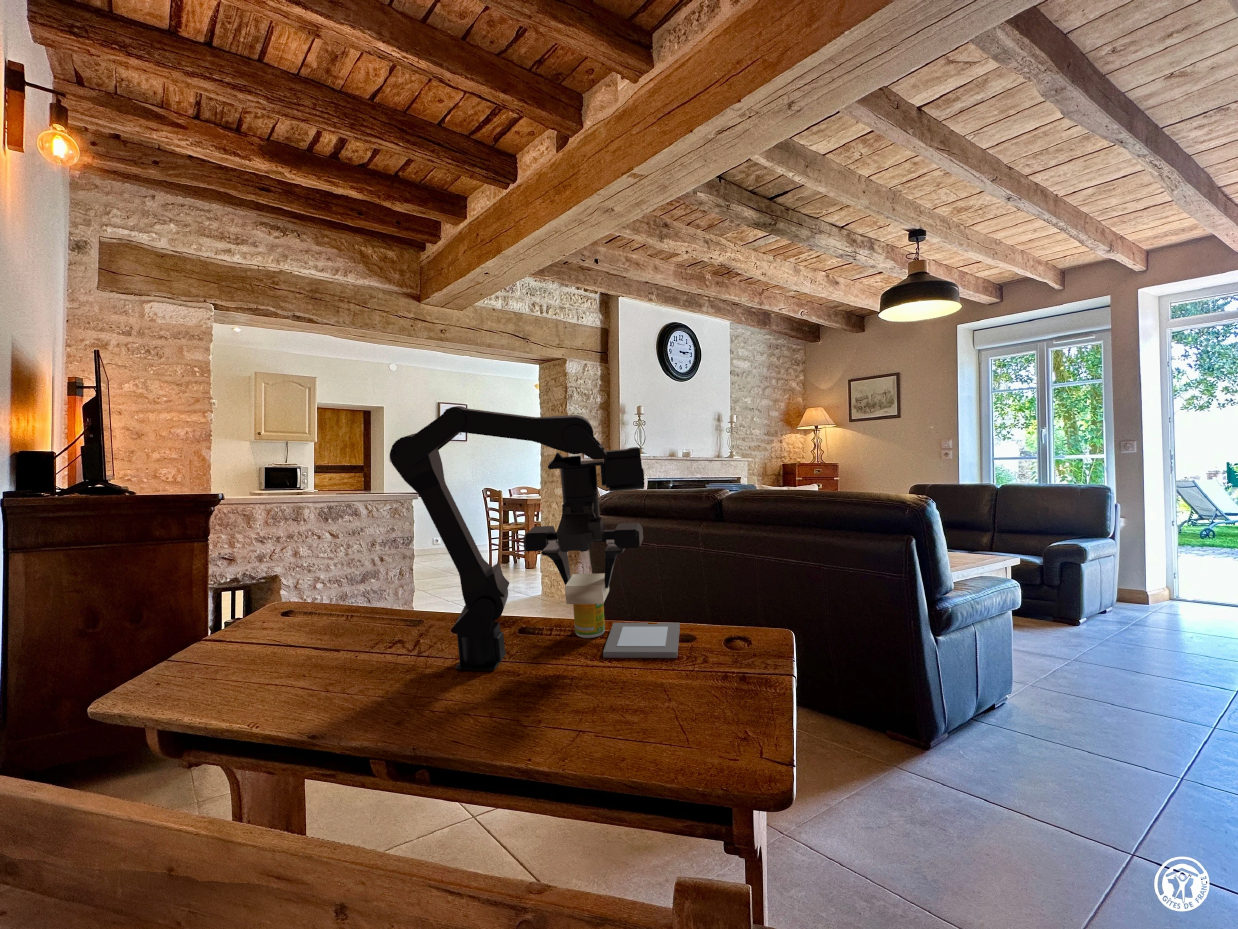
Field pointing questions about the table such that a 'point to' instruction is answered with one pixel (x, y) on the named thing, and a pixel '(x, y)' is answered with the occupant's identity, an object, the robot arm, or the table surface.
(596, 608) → the supplement bottle
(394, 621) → the table surface
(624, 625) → the baseplate
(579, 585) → the birch block
